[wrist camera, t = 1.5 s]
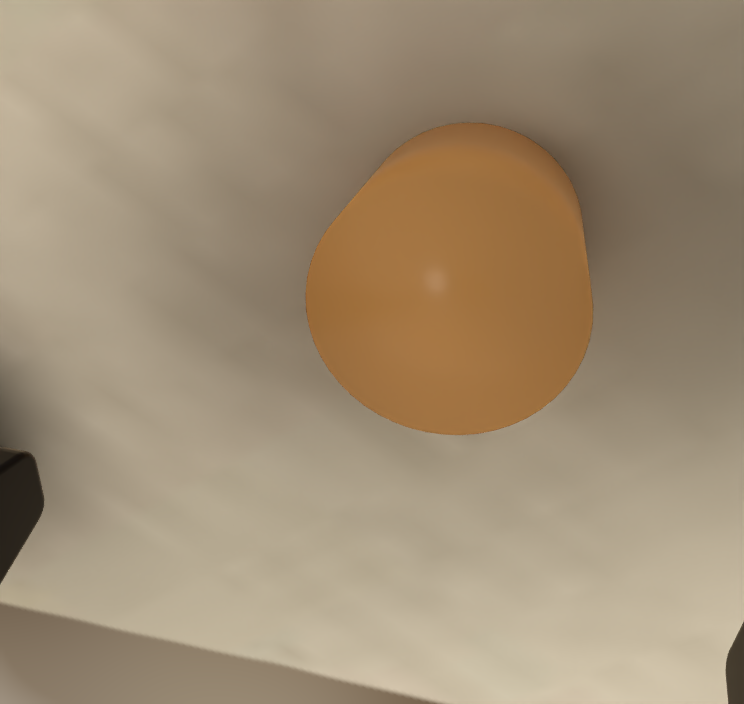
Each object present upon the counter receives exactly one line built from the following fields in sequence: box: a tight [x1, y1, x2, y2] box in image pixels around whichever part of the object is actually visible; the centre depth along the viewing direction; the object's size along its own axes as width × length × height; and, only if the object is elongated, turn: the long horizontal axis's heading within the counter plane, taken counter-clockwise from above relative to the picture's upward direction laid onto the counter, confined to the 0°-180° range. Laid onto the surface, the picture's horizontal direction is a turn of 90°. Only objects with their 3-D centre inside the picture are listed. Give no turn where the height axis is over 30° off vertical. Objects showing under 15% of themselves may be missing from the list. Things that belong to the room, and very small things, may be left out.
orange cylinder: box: [306, 123, 593, 435], centre depth 17 cm, size 6×6×5 cm
